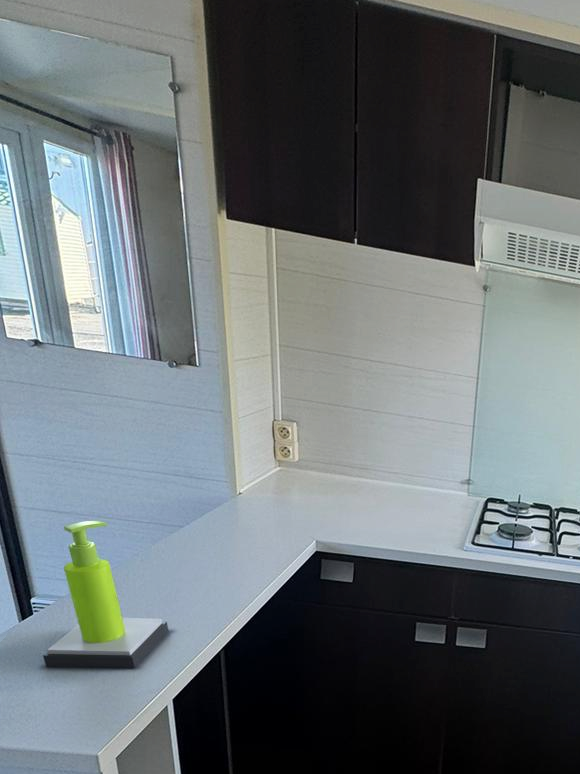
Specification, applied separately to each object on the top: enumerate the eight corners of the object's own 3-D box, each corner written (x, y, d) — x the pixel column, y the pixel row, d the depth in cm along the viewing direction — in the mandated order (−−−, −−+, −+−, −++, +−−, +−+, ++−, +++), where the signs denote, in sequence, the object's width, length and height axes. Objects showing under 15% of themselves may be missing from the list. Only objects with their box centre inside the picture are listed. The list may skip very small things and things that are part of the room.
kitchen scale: (46, 667, 103) (41, 651, 102) (89, 629, 114) (86, 615, 113) (134, 668, 106) (131, 653, 104) (168, 631, 117) (166, 617, 116)
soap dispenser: (139, 631, 111) (115, 523, 102) (96, 646, 105) (67, 533, 96) (118, 621, 112) (92, 515, 104) (74, 636, 107) (44, 524, 98)
